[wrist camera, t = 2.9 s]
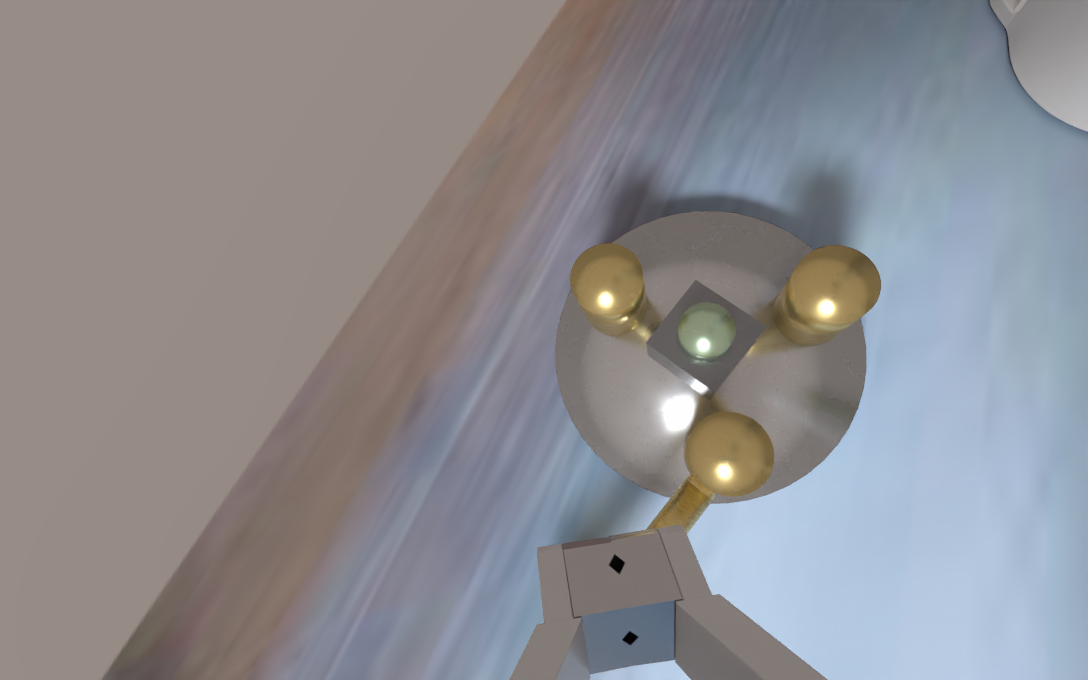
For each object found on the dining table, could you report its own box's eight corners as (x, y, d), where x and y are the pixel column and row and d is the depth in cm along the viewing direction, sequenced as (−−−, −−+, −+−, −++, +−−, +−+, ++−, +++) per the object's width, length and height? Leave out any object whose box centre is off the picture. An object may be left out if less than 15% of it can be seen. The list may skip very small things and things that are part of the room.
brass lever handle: (711, 406, 35) (719, 394, 29) (770, 450, 34) (792, 447, 28) (516, 657, 34) (485, 695, 28) (569, 712, 33) (548, 764, 27)
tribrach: (669, 176, 42) (670, 111, 34) (920, 325, 35) (989, 286, 28) (507, 379, 41) (470, 359, 33) (735, 568, 35) (753, 596, 27)
